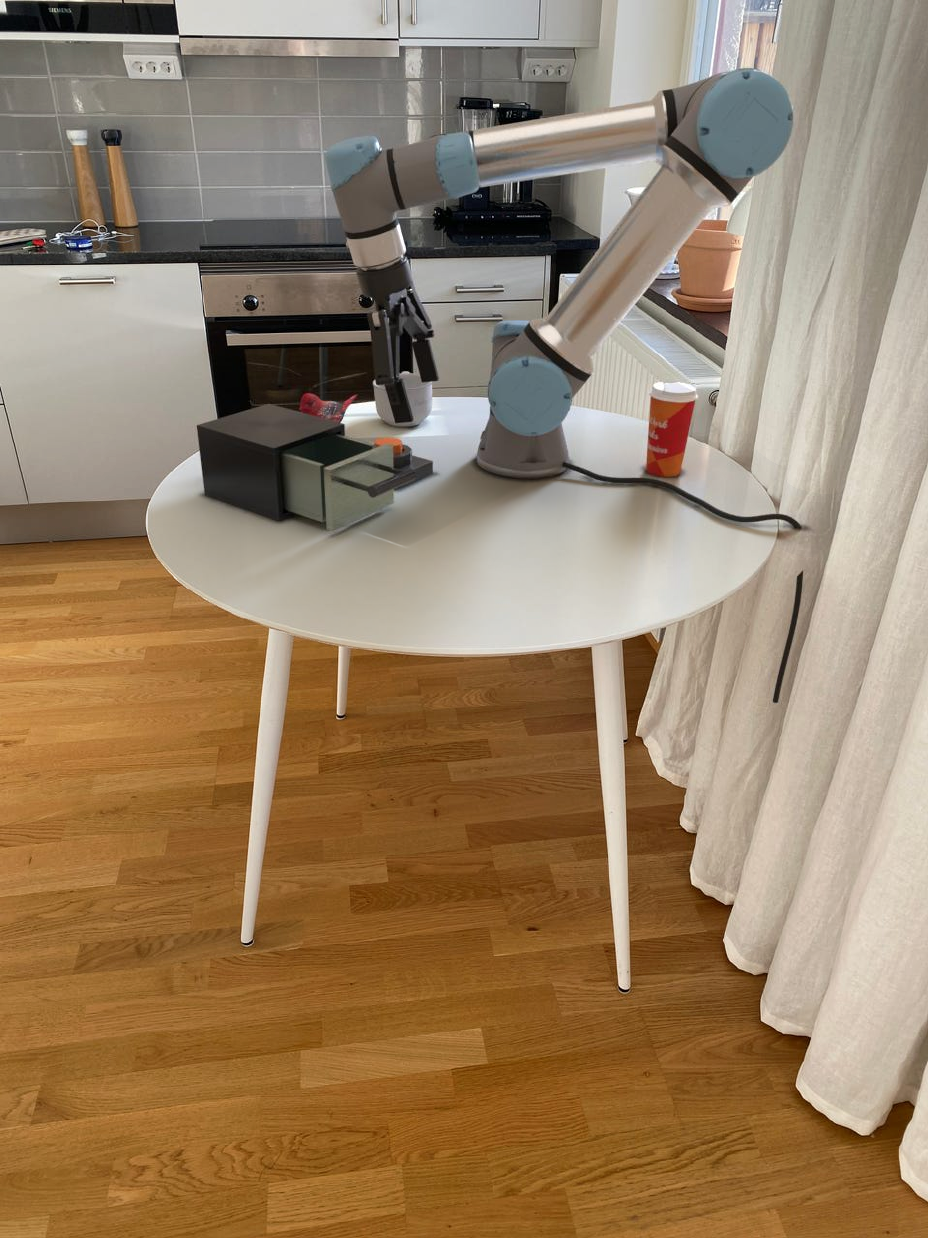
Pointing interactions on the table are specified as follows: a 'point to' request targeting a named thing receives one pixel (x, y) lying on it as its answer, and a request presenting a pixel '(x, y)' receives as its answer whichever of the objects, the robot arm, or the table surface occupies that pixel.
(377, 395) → the teacup
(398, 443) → the button
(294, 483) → the drawer
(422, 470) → the block
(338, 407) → the decorative bird figurine
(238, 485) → the cabinet
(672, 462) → the paper cup
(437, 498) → the table surface
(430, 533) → the table surface
